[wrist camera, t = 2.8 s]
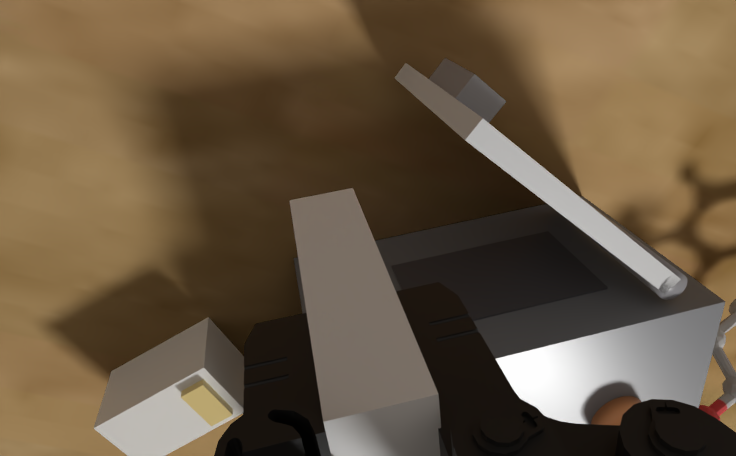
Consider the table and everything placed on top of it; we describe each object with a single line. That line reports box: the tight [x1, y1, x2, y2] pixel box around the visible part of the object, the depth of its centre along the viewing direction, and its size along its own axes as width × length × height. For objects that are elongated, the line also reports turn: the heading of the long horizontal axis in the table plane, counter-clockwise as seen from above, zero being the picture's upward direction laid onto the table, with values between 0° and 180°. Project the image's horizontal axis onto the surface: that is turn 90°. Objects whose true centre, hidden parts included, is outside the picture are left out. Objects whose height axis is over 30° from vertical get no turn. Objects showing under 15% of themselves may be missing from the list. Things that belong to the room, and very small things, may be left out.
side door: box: [395, 58, 687, 300], centre depth 22 cm, size 12×2×8 cm, turn 52°
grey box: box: [294, 196, 725, 425], centre depth 26 cm, size 19×10×11 cm, turn 97°
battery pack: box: [94, 317, 245, 456], centre depth 27 cm, size 6×4×4 cm, turn 117°
